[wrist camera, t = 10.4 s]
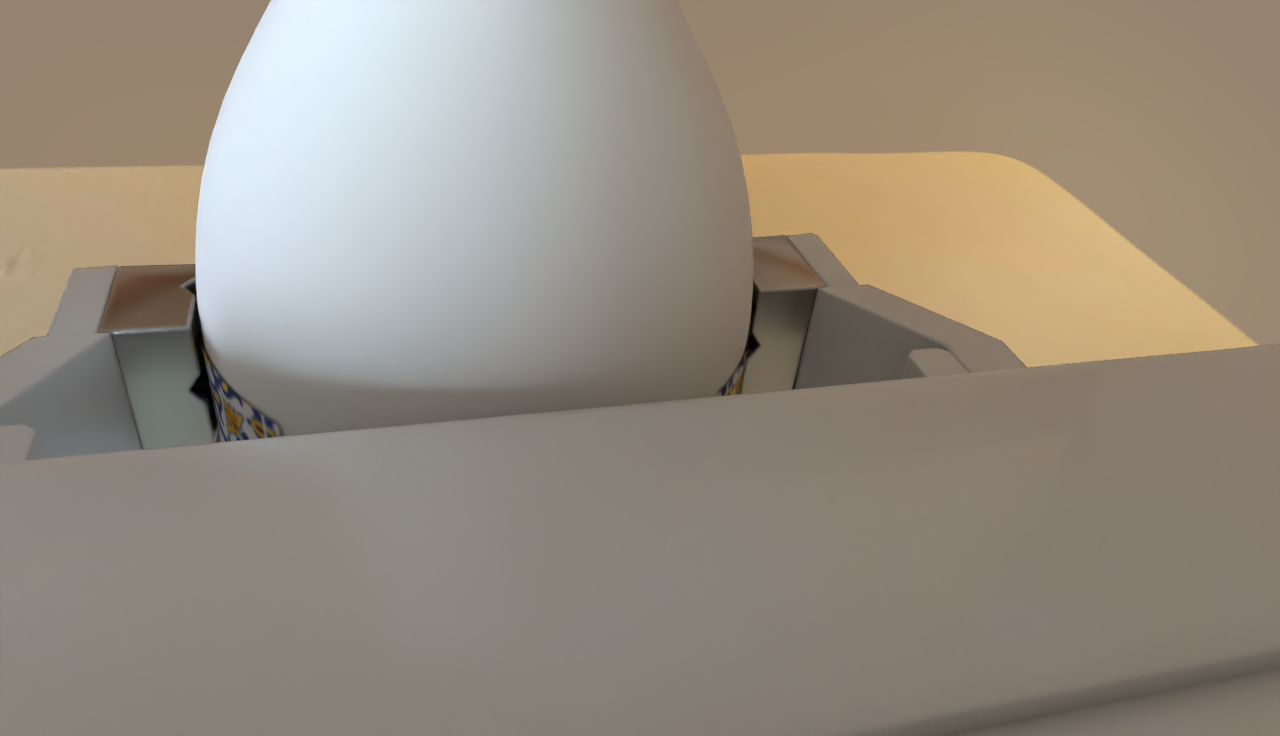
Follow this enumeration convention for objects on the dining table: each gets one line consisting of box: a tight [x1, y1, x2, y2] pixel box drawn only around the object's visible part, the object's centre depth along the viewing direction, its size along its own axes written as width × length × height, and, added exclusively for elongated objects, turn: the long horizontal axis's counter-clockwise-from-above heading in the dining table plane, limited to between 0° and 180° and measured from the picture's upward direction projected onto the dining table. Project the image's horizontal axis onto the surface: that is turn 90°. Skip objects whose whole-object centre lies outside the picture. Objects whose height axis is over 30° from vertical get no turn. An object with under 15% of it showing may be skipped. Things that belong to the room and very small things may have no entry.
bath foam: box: [195, 0, 753, 442], centre depth 14 cm, size 7×7×20 cm
